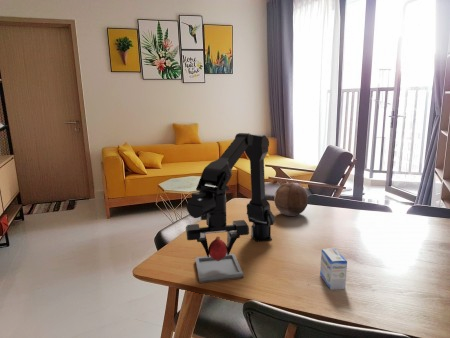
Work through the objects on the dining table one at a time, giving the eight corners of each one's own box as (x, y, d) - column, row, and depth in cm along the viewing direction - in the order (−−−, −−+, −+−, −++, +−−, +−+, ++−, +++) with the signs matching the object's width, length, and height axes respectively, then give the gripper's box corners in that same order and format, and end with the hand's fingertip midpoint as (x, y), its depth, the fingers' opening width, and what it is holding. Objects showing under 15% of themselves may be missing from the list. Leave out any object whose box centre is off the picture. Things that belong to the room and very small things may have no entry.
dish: (234, 257, 108) (234, 253, 108) (243, 277, 96) (243, 273, 96) (195, 261, 106) (195, 257, 106) (199, 282, 94) (199, 278, 93)
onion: (225, 266, 97) (224, 241, 96) (206, 264, 98) (205, 240, 97) (228, 257, 103) (228, 233, 101) (211, 255, 104) (210, 232, 102)
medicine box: (319, 275, 96) (320, 248, 95) (334, 274, 97) (335, 247, 95) (330, 290, 89) (331, 261, 87) (345, 289, 89) (347, 260, 87)
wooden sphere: (310, 211, 151) (311, 180, 148) (303, 222, 138) (304, 188, 134) (279, 208, 157) (279, 178, 154) (269, 218, 144) (270, 185, 141)
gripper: (240, 197, 106) (241, 241, 110) (183, 202, 103) (186, 247, 106) (249, 208, 96) (249, 257, 99) (186, 213, 92) (188, 263, 96)
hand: (218, 255), depth 100 cm, fingers closed on onion, 6 cm apart
